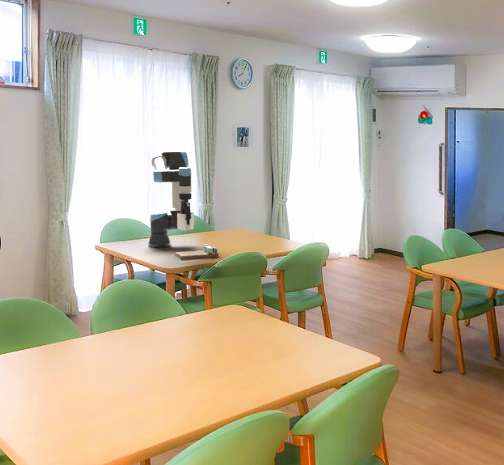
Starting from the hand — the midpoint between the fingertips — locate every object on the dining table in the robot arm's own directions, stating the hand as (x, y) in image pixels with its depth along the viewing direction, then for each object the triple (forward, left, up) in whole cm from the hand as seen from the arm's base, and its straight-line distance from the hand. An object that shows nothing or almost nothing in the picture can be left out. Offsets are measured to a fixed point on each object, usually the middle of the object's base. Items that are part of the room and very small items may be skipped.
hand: (185, 228), depth 385 cm
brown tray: (-1, +7, -18) cm, 19 cm away
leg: (-1, +15, -15) cm, 21 cm away
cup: (0, 0, -1) cm, 1 cm away
